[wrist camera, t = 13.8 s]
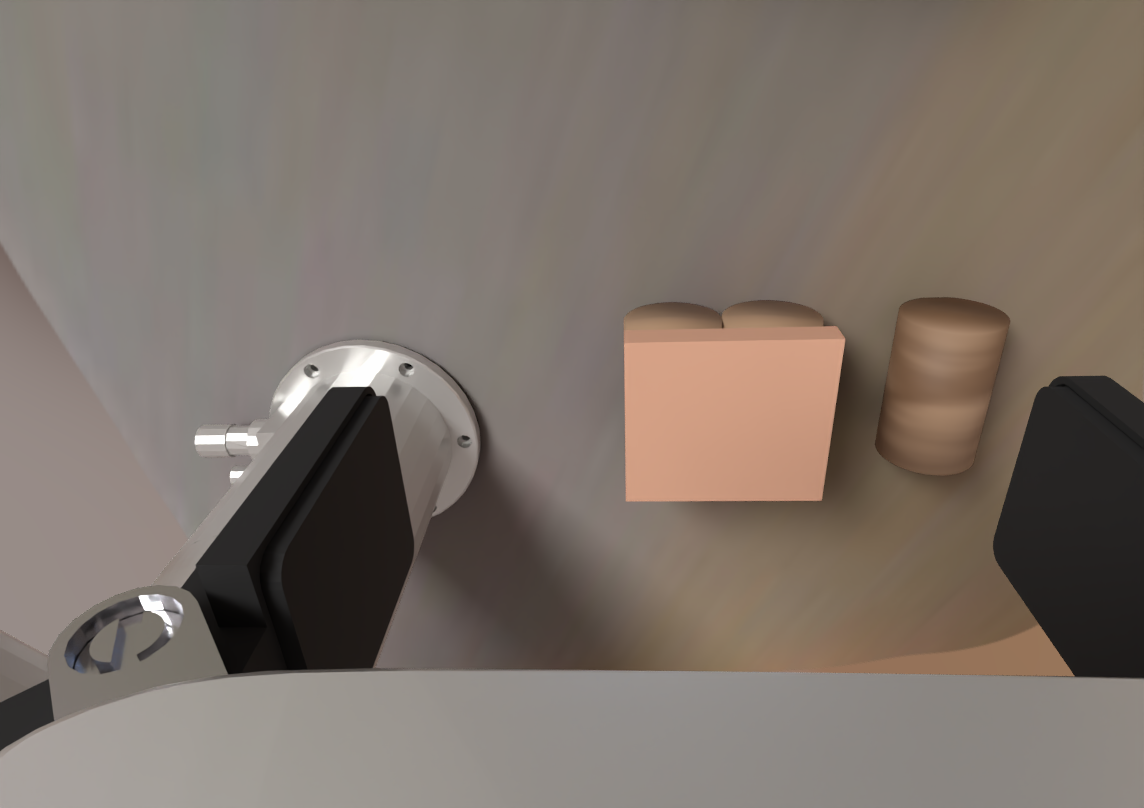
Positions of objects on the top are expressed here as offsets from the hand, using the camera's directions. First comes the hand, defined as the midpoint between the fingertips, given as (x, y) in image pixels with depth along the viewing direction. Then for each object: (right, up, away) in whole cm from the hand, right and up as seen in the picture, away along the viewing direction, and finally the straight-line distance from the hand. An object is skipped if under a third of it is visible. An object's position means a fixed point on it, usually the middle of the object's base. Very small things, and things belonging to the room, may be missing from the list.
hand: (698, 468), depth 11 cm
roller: (+18, +3, +30) cm, 35 cm away
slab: (+6, +3, +30) cm, 31 cm away
